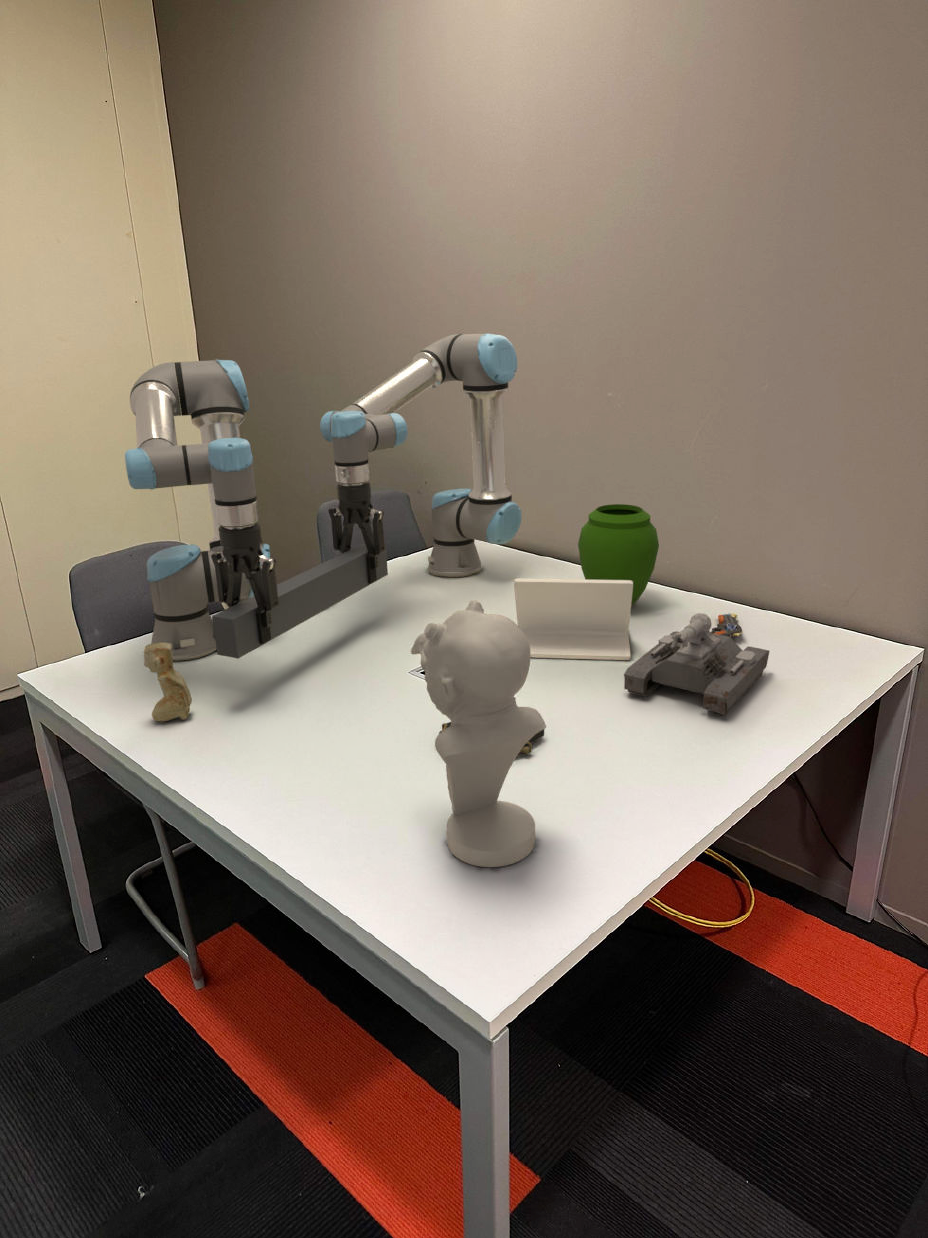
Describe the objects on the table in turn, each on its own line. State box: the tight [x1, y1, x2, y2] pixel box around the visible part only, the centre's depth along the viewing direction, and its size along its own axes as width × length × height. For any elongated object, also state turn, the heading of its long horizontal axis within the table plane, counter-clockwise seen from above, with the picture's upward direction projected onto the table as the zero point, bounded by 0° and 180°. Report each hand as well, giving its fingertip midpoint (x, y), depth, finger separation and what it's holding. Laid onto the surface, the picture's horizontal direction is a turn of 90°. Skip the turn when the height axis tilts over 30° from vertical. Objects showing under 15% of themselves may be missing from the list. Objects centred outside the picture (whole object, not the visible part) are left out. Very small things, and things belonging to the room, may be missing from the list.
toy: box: [623, 612, 770, 716], centre depth 167 cm, size 25×20×15 cm
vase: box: [577, 503, 660, 607], centre depth 210 cm, size 20×20×24 cm
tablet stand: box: [513, 578, 633, 661], centre depth 189 cm, size 18×25×17 cm
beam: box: [211, 542, 389, 659], centre depth 182 cm, size 55×5×8 cm, turn 154°
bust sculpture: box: [410, 599, 547, 868], centre depth 121 cm, size 16×24×35 cm
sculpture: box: [142, 643, 193, 723], centre depth 160 cm, size 6×7×15 cm
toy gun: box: [710, 612, 744, 638], centre depth 195 cm, size 3×19×10 cm
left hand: (253, 638), depth 167 cm, fingers closed on beam, 5 cm apart
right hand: (361, 580), depth 200 cm, fingers closed on beam, 5 cm apart
